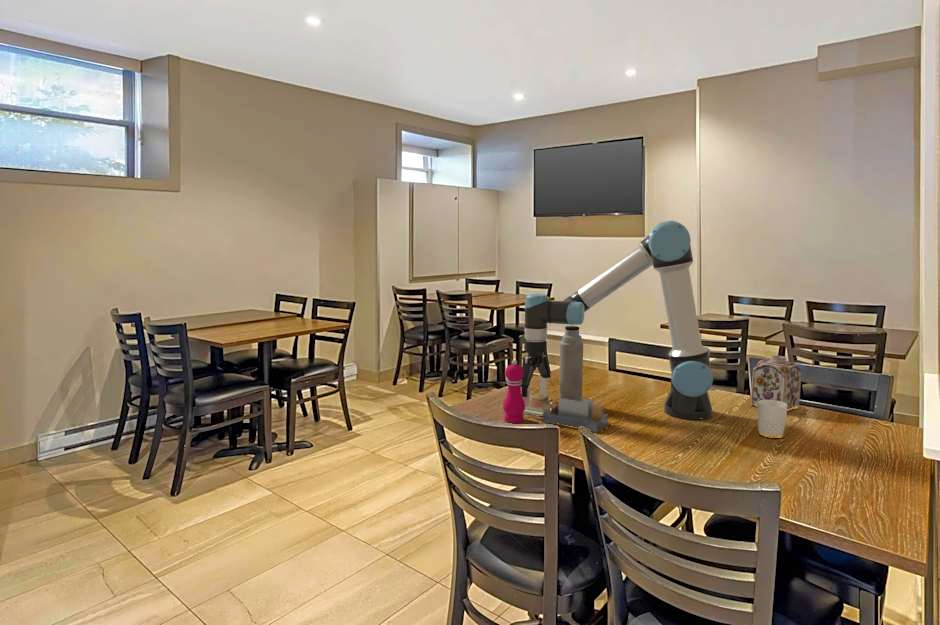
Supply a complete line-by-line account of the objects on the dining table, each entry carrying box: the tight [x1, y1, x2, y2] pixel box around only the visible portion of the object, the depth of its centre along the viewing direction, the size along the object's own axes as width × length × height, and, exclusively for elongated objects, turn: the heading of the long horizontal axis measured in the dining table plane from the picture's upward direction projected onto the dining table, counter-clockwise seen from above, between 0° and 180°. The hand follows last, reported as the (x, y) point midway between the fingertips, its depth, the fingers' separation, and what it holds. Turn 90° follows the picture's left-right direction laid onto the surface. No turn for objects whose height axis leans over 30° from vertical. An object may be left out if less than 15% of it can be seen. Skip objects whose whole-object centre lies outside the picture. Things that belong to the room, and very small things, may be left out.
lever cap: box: [525, 393, 553, 412], centre depth 202 cm, size 10×7×4 cm
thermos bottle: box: [558, 325, 584, 399], centre depth 206 cm, size 8×8×28 cm
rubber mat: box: [522, 409, 549, 417], centre depth 202 cm, size 11×11×1 cm
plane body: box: [542, 395, 609, 434], centre depth 189 cm, size 18×10×8 cm, turn 58°
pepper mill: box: [502, 359, 525, 424], centre depth 191 cm, size 7×7×20 cm
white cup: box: [757, 400, 788, 436], centre depth 177 cm, size 8×8×10 cm
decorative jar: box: [750, 355, 802, 409], centre depth 205 cm, size 12×12×18 cm
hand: (534, 400), depth 202 cm, fingers open, 13 cm apart
